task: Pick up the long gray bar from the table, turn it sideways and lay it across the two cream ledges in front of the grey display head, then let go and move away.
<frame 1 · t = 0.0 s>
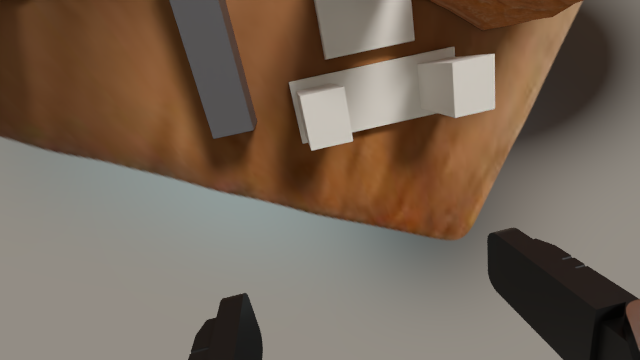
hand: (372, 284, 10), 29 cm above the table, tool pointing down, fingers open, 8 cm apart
display stand: (374, 95, 37), on the table
gray bar: (217, 42, 34), on the table
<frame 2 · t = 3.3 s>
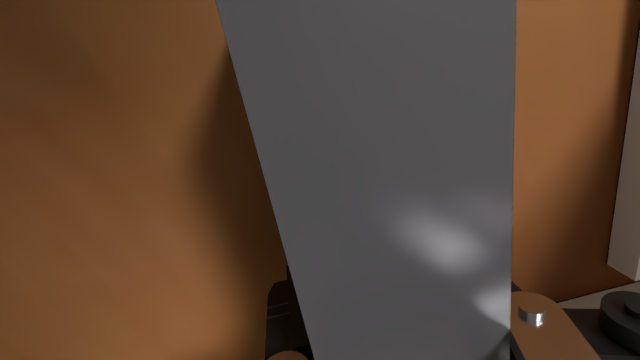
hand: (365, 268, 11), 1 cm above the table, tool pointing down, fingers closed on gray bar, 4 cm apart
gray bar: (356, 247, 12), on the table, touching gripper
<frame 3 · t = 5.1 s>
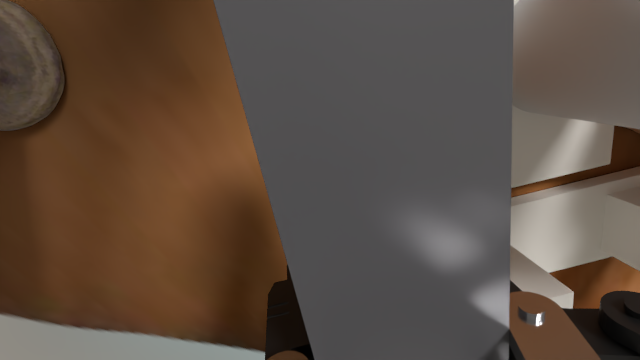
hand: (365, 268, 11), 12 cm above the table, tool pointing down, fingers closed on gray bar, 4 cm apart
display stand: (533, 230, 26), on the table
gray bar: (356, 247, 12), point 10 cm above the table, touching gripper
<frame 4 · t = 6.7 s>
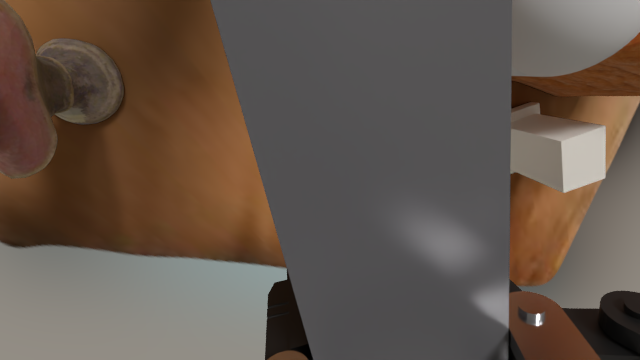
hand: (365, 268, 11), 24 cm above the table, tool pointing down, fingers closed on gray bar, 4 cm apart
display stand: (454, 159, 36), on the table
gray bar: (356, 247, 12), point 22 cm above the table, touching gripper
decorative bust: (63, 73, 29), on the table
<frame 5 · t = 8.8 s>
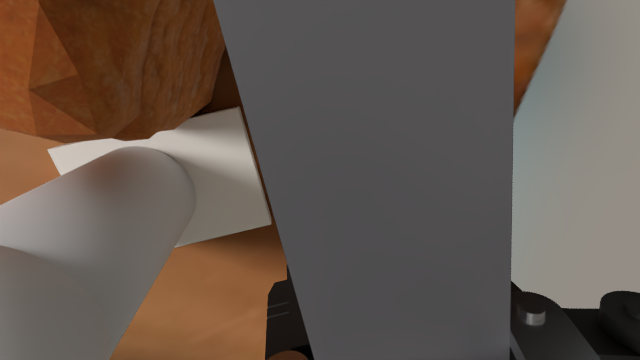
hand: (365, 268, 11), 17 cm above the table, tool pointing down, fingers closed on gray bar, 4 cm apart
display stand: (314, 152, 27), on the table
gray bar: (357, 248, 12), point 15 cm above the table, touching gripper
when the fingers open (12 cm above the table, at t = 10.5 s): gray bar drops 1 cm, resting on display stand.
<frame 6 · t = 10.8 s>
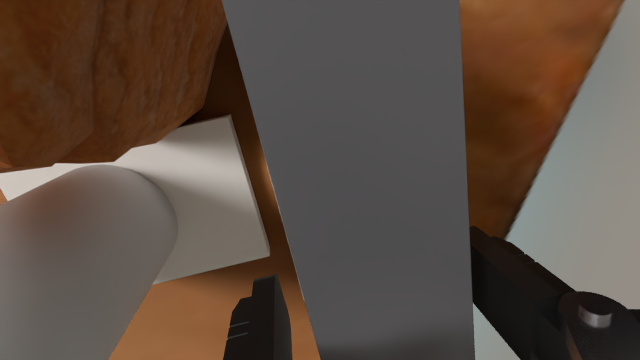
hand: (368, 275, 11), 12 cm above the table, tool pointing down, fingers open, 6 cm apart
display stand: (322, 169, 22), on the table
gray bar: (349, 232, 14), point 9 cm above the table, touching display stand
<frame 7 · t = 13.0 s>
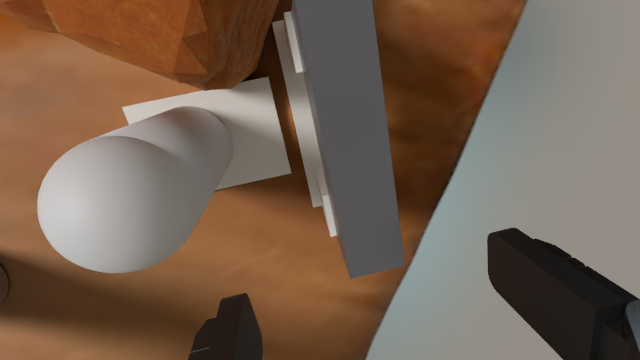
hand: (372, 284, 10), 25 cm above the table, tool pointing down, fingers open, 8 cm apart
display stand: (326, 115, 33), on the table
gray bar: (341, 132, 25), point 9 cm above the table, touching display stand
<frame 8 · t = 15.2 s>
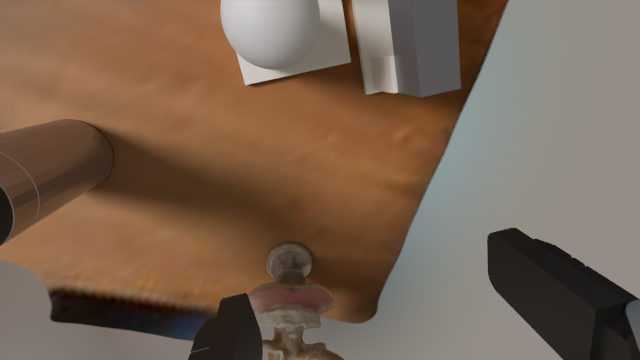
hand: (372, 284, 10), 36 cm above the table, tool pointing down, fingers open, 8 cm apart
display stand: (380, 13, 41), on the table
gray bar: (406, 0, 33), point 9 cm above the table, touching display stand
decorative bust: (283, 268, 52), on the table
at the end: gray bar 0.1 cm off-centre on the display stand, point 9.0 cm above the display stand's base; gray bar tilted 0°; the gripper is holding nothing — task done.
